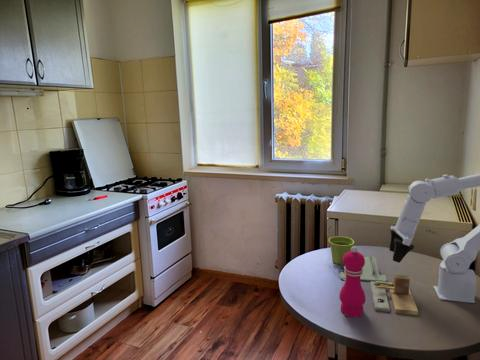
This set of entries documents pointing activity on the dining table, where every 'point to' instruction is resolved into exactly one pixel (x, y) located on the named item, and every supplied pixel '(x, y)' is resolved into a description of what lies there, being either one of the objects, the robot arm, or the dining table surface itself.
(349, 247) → the plant pot
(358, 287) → the pepper mill
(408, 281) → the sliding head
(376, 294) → the bolt strip
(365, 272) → the metal bracket
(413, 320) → the dining table surface
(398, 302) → the trammel beam
